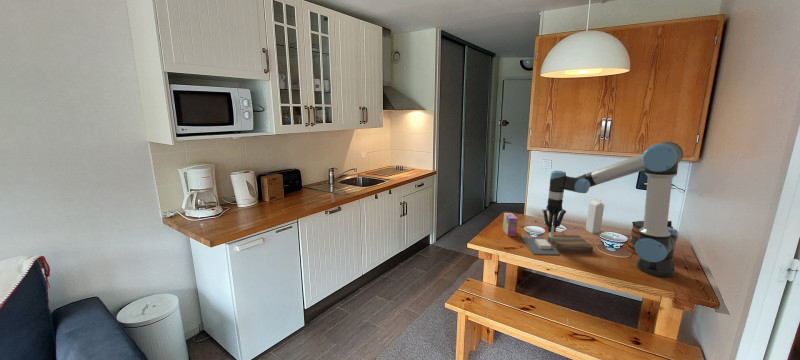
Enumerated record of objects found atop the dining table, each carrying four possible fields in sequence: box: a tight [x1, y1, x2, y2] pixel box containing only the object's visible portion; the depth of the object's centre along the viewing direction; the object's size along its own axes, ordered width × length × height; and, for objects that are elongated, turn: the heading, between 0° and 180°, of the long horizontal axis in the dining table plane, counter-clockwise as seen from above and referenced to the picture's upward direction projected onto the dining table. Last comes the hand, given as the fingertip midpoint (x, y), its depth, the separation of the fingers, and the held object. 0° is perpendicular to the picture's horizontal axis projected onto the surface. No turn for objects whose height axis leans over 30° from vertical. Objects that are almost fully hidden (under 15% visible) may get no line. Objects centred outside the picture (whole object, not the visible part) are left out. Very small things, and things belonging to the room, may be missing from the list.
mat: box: [521, 237, 561, 256], centre depth 191 cm, size 22×14×1 cm, turn 177°
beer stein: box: [626, 220, 674, 255], centre depth 182 cm, size 19×15×20 cm
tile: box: [535, 238, 551, 249], centre depth 190 cm, size 9×6×2 cm, turn 177°
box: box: [502, 212, 519, 237], centre depth 210 cm, size 10×6×12 cm, turn 179°
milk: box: [585, 197, 605, 234], centre depth 211 cm, size 6×6×22 cm
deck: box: [547, 234, 594, 255], centre depth 190 cm, size 16×18×4 cm
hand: (551, 237), depth 189 cm, fingers closed
